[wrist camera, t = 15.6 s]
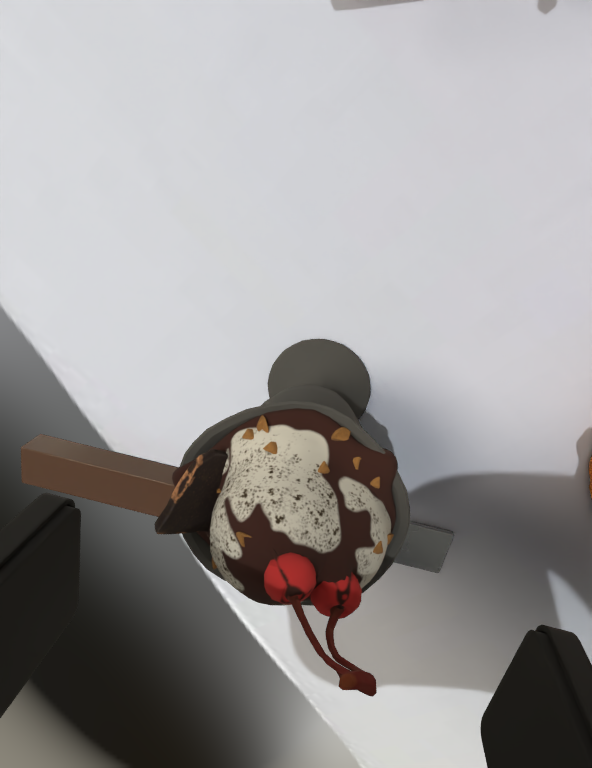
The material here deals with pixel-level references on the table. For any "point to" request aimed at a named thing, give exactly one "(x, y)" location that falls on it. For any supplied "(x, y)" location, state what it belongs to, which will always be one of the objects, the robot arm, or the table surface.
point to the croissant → (591, 472)
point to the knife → (163, 489)
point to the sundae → (296, 495)
